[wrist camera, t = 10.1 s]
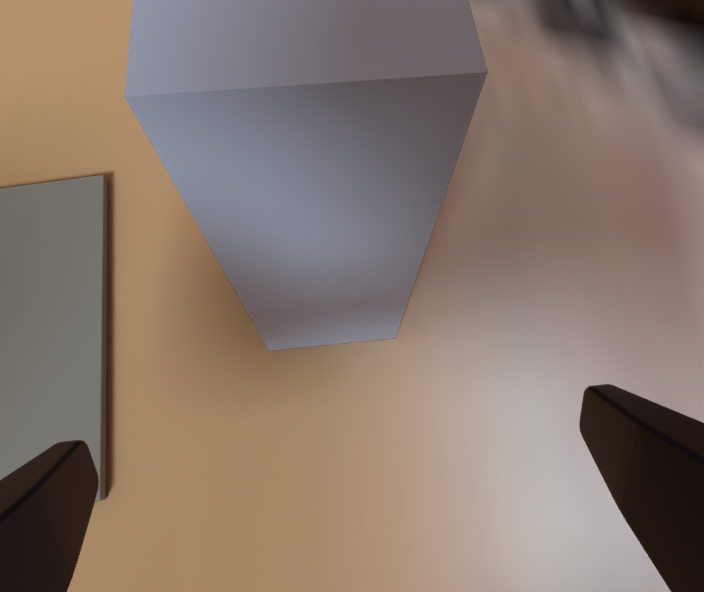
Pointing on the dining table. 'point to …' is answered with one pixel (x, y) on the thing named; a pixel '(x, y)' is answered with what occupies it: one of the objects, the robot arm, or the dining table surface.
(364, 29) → the grey-blue tall block
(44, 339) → the board
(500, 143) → the dining table surface
